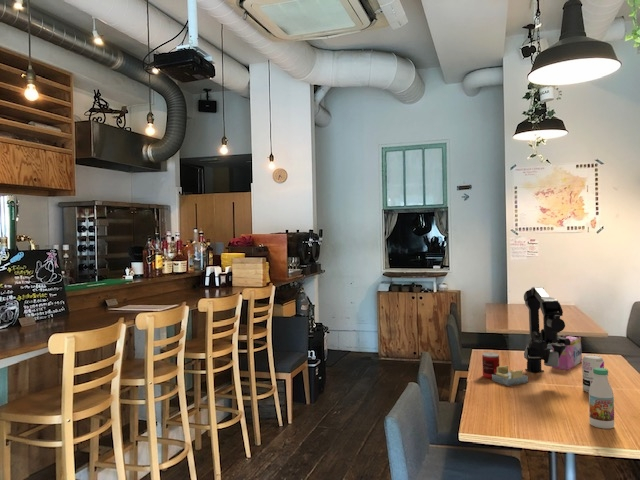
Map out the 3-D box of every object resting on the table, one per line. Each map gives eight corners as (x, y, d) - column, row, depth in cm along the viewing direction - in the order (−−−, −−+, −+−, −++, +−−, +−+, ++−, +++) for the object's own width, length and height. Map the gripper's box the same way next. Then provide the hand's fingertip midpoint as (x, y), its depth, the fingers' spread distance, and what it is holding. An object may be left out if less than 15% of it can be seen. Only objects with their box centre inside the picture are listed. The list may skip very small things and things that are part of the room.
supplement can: (606, 391, 215) (606, 356, 215) (601, 395, 209) (600, 360, 209) (586, 387, 221) (585, 353, 221) (580, 392, 215) (579, 357, 215)
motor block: (514, 376, 241) (514, 364, 241) (530, 381, 232) (530, 369, 232) (492, 380, 235) (491, 367, 235) (507, 385, 226) (507, 372, 226)
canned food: (497, 374, 245) (496, 352, 245) (501, 379, 237) (500, 356, 237) (481, 374, 246) (480, 352, 246) (484, 379, 238) (484, 356, 238)
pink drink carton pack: (567, 359, 273) (566, 334, 273) (583, 361, 268) (582, 336, 268) (551, 367, 256) (551, 341, 256) (568, 370, 250) (567, 343, 250)
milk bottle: (584, 422, 180) (583, 366, 180) (605, 420, 181) (603, 365, 181) (598, 430, 173) (597, 372, 173) (619, 428, 173) (618, 371, 173)
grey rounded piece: (550, 362, 228) (550, 348, 228) (561, 365, 223) (561, 351, 223) (541, 364, 226) (540, 350, 226) (552, 367, 220) (551, 352, 220)
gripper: (550, 323, 235) (551, 356, 235) (521, 326, 228) (521, 360, 228) (571, 326, 225) (571, 361, 225) (540, 330, 218) (541, 366, 218)
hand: (551, 362), depth 224 cm, fingers closed on grey rounded piece, 6 cm apart
